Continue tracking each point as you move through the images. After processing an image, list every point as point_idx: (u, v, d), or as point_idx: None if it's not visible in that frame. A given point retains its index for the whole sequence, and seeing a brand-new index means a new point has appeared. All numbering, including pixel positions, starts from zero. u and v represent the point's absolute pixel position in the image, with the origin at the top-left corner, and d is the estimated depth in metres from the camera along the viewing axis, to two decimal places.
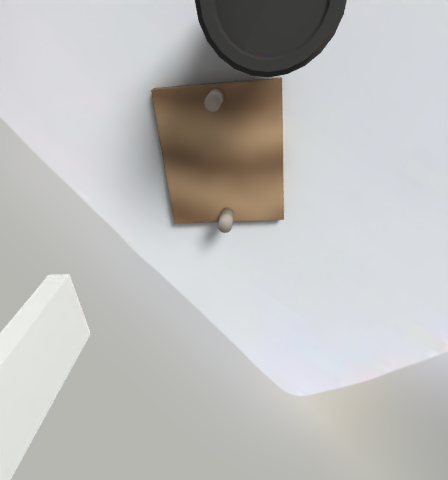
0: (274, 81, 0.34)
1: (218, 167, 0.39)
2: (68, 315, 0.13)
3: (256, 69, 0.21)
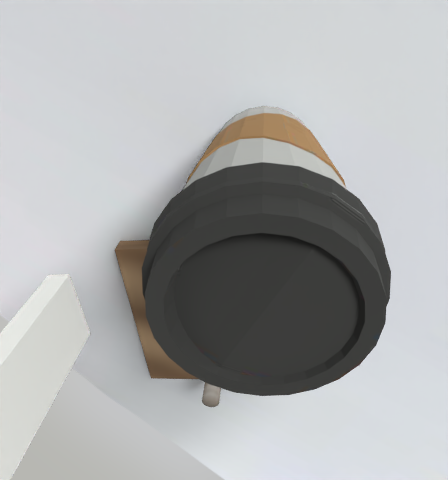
0: None
1: None
2: (68, 315, 0.13)
3: (241, 391, 0.14)
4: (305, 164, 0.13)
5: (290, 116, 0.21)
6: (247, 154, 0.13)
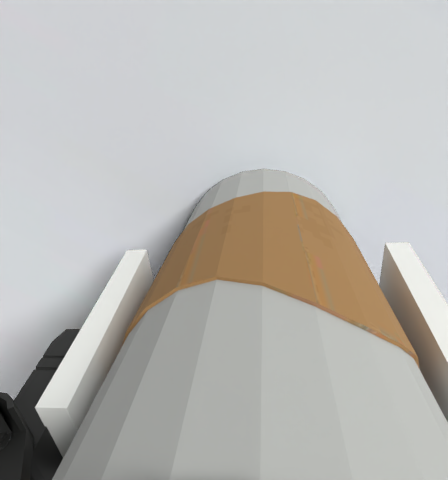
0: None
1: None
2: (146, 287, 0.14)
3: None
4: (366, 418, 0.05)
5: (305, 190, 0.13)
6: (225, 371, 0.06)
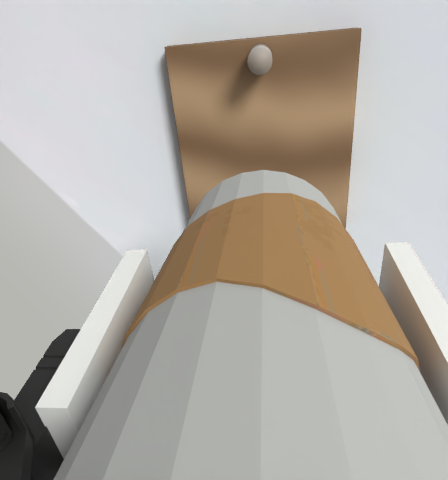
0: (349, 31, 0.23)
1: (257, 161, 0.27)
2: (146, 287, 0.14)
3: None
4: (366, 421, 0.05)
5: (305, 191, 0.13)
6: (225, 374, 0.06)
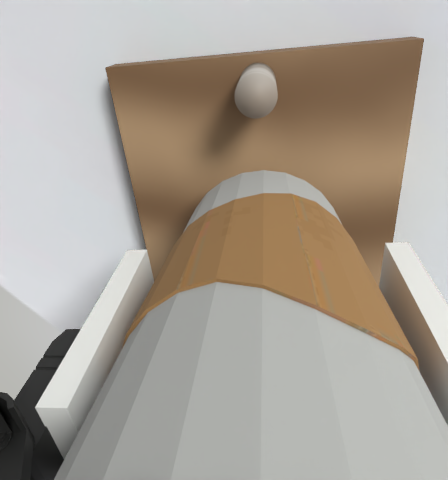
0: (404, 43, 0.14)
1: None
2: (146, 287, 0.14)
3: None
4: (366, 421, 0.05)
5: (305, 191, 0.13)
6: (225, 374, 0.06)
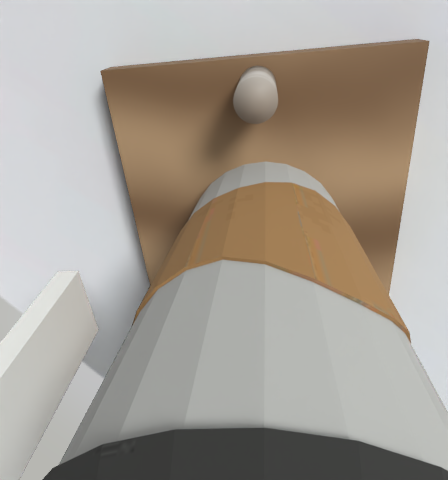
0: (408, 46, 0.13)
1: None
2: (77, 311, 0.13)
3: None
4: (358, 374, 0.06)
5: (305, 181, 0.14)
6: (232, 335, 0.06)
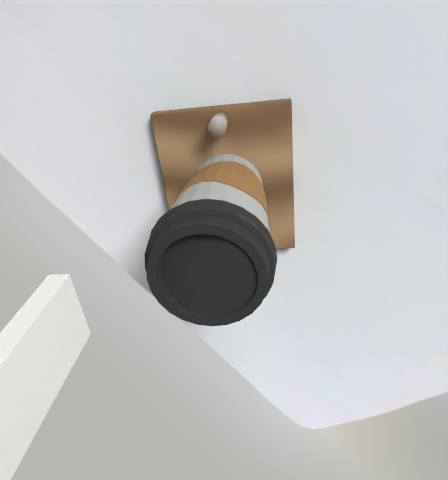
0: (283, 103, 0.31)
1: None
2: (68, 315, 0.13)
3: (200, 324, 0.24)
4: (232, 198, 0.24)
5: (241, 161, 0.32)
6: (202, 192, 0.24)
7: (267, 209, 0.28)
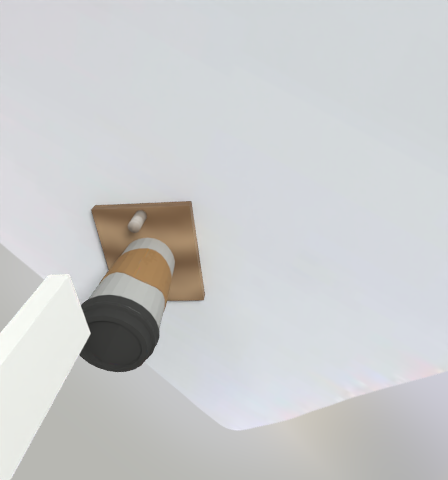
0: (184, 206, 0.44)
1: None
2: (68, 315, 0.13)
3: (109, 370, 0.37)
4: (129, 291, 0.37)
5: (154, 246, 0.45)
6: (111, 285, 0.37)
7: (164, 288, 0.41)
